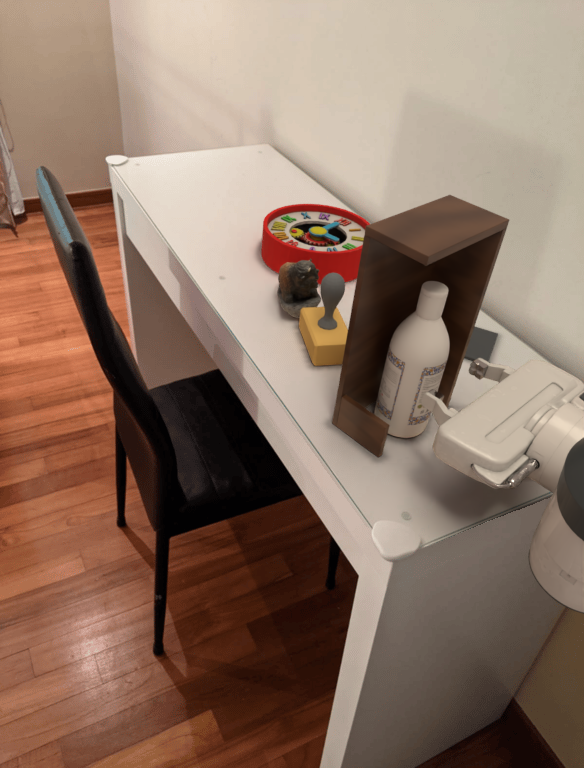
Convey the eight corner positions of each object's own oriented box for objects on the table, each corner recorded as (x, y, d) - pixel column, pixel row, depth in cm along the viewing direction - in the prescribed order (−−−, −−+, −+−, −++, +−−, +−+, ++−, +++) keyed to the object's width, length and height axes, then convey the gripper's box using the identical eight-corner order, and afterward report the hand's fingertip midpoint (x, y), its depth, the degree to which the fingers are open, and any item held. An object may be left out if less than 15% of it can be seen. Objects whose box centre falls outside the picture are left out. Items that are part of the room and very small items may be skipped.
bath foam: (430, 412, 81) (470, 280, 68) (421, 446, 76) (463, 310, 63) (379, 397, 83) (410, 265, 70) (367, 430, 77) (398, 294, 65)
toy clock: (239, 222, 107) (312, 195, 120) (238, 252, 111) (309, 223, 123) (327, 265, 98) (396, 230, 110) (323, 297, 101) (390, 260, 114)
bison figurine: (271, 285, 103) (275, 230, 97) (312, 286, 104) (319, 231, 98) (280, 326, 94) (285, 267, 87) (324, 325, 95) (333, 268, 89)
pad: (497, 335, 97) (498, 333, 97) (487, 365, 90) (487, 363, 90) (442, 318, 99) (443, 316, 99) (428, 346, 93) (428, 344, 93)
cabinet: (447, 407, 82) (510, 219, 65) (378, 457, 74) (428, 256, 57) (402, 379, 86) (449, 194, 69) (331, 423, 78) (365, 225, 61)
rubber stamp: (351, 364, 88) (364, 292, 80) (312, 366, 87) (322, 293, 79) (334, 325, 95) (344, 255, 88) (298, 326, 94) (305, 256, 86)
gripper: (496, 517, 59) (388, 438, 67) (590, 427, 71) (489, 368, 78) (517, 473, 55) (399, 394, 63) (613, 385, 67) (504, 327, 74)
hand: (450, 379), depth 71 cm, fingers open, 8 cm apart
